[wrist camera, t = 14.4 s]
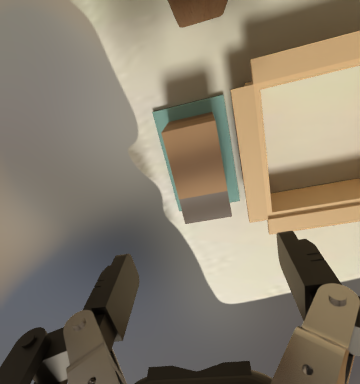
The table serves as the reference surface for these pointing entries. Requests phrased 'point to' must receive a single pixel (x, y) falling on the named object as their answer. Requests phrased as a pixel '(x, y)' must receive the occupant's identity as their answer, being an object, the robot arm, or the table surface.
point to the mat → (220, 116)
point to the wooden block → (196, 10)
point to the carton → (256, 148)
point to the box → (197, 167)
